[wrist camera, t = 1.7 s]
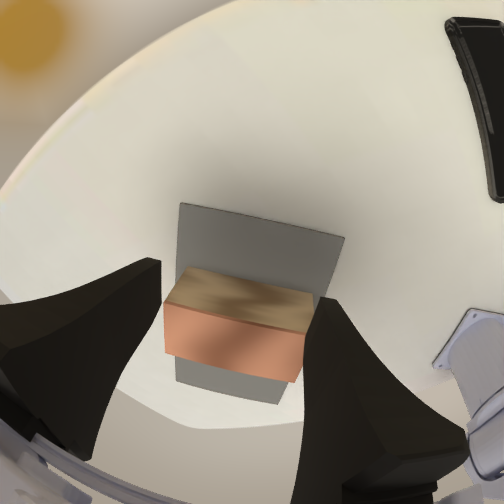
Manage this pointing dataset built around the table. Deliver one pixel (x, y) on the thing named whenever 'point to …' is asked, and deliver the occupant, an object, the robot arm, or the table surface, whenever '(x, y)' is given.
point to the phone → (484, 87)
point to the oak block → (237, 324)
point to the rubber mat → (250, 277)
